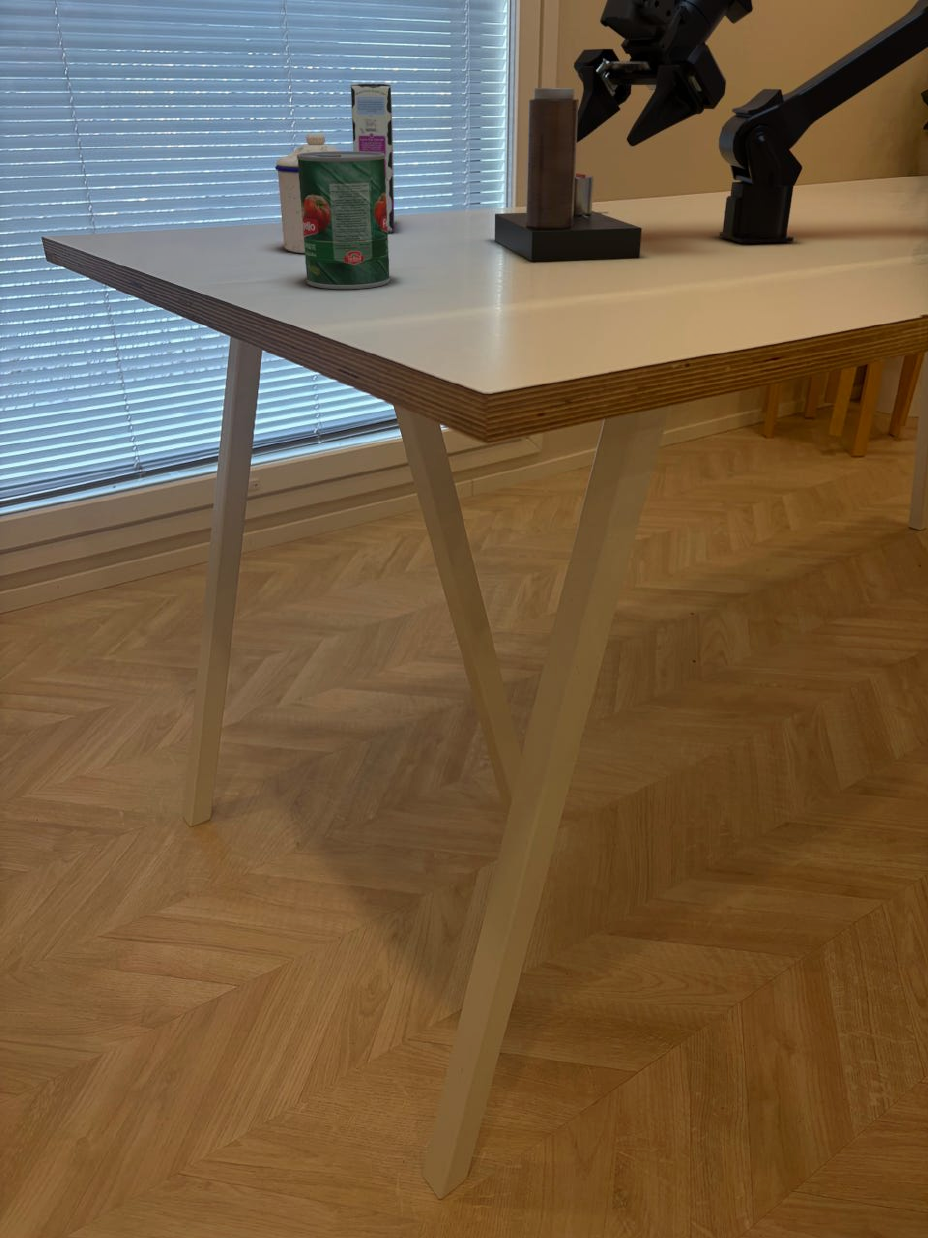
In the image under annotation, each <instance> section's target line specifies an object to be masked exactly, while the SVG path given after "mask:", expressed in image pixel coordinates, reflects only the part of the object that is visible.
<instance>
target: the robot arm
mask: <svg viewBox="0 0 928 1238" xmlns="http://www.w3.org/2000/svg"><path fill="white" fill-rule="evenodd" d="M753 10H754V7H753V1H752V0H606V3H605V5H604V7H603V11H602V14H601V16H600V19H599V23H600V25H602V26H603V27H605V28H609V29H611V30H612V31H613V32H615V33H616V34H617V35H619V36H620V37H621V38H623V39H624V40H623V41H622V43H620V47H621V48H622V50H623V52H624V53H625V55H629V57H630V58H629V60H620V59H619V57H618V56H617V54H616V52H615V50H614V49H613V48H591V49H589V48H588V49H583V50H582V52H580V54H579V56H578V57H577V58H576V60H575V61H574V63H573V68H574V70H575V72H576V73H577V76H578V78H579V80H580V81H581V83H582V88H583V91H582V95H581V100H580V103H579V105H578V124H577V144H578V143H579V142H581V141H582V140H584V139H585V138H587V137H588V136H589V135H590V134H592V133H593V132H594V131H596V130H597V129H598V128H599V127H601V126H602V125H603V124H604V123H606V122H607V121H609V120H610V119H611V118H612V117H613V116H615V115H616V114H618V113H619V112H620V111H621V108H620V107H621V105H622V104H624V103H626V101H627V100H628V99H629V97H630V96H631V95H632V88H633V87H632V86H646V88H647V89H649V90H650V91H653V93H652V94H651V96H650V98H649V99H648V101H647V102H646V104H645V106H644V108H643V109H642V111H641V112H640V114H639V115H638V117H637V119H636V120H635V122H634V123H633V125H632V127H631V128H630V131H629V132H628V135H627V137H626V141H627V143H628V145H629V146H630V147H635V146H638V145H639V144H641V143H643V142H645V141H646V140H649V139H650V138H652V137H654V136H656V135H658V134H660V133H661V132H664V131H665V130H667V129H669V128H671V127H672V126H675V125H677V124H679V123H682V122H683V121H685V120H687V119H690V118H691V117H693V116H696V115H701V114H702V113H703V112H704V111H705V110H715V109H716V107H717V106H718V105H719V103H720V102H721V100H722V99H723V98H724V96H725V94H726V89H727V88H726V87H727V79H726V77H725V76H724V73H723V72H722V70H721V68H720V66H719V64H718V62H717V60H716V59H715V56H714V55H713V53H712V51H711V48H710V47H709V45H708V44H706V43H707V41H708V40H709V38H711V36H712V35H713V33H714V31H716V29H717V27H718V26H719V25H720V23H721V22H722V20H723V19H725V17H726V19H728V21H729V22H730V23H731V24H734V25H735V24H737V23H738V22H739V21H741V20H742V19H744V18H745V17H746V16H748V15H749V14H750V13H752V12H753ZM927 48H928V0H917V1H916V2H915V4H914V5H913V6H912V7H911V8H910V10H909V11H908V12H907V13H906V14H904V15H903V16H901V17H900V18H899V19H897V20H895V21H894V22H893V23H891V24H890V25H888V26H887V27H885V28H884V29H882V30H880V32H878V33H876V34H874V36H872V37H871V38H869V39H867V40H866V41H864V42H863V43H861V44H860V45H858V46H857V47H856V48H854V49H853V50H851V51H850V52H848V53H847V54H845V55H844V56H842V57H841V58H839V59H838V60H836V61H835V62H833V63H832V64H830V65H829V66H827V67H826V68H824V69H823V70H821V71H820V72H818V73H817V74H815V75H814V76H812V77H810V78H809V79H807V80H806V81H805V82H803V83H802V84H800V85H799V86H797V87H796V88H794V89H793V90H791V91H788V92H786V93H783V90H782V89H781V88H763V89H762V90H760V91H759V92H757V93H756V95H755V96H753V97H752V98H751V99H750V100H749V101H748V102H747V103H745V104H743V105H742V106H738V107H734V108H732V109H731V112H732V113H733V114H734V115H732V116H731V117H730V118H729V119H727V121H725V123H724V124H723V125H722V127H721V131H720V133H719V138H718V149H719V153H720V155H721V157H722V158H723V160H724V162H725V163H727V164H729V166H730V171H731V176H732V179H733V180H734V181H732V182H731V187H730V195H728V196H726V199H725V205H724V206H725V207H724V217H723V225H722V231H720V232H719V237H720V238H724V239H726V240H727V239H728V240H730V241H734V242H737V243H740V244H762V243H764V244H765V243H789V242H791V243H792V242H794V236H789V235H788V228H789V220H790V215H791V208H792V201H793V194H794V186H796V183H797V181H798V179H799V176H800V175H801V173H802V170H803V165H802V164H801V163H800V161H799V160H798V159H797V158H796V156H795V155H794V154H793V152H791V149H792V148H793V147H794V146H795V145H796V144H797V143H798V141H799V140H800V139H801V138H802V137H803V136H804V134H805V133H806V132H807V131H808V129H809V128H810V127H811V126H812V125H813V124H814V123H816V122H817V121H818V120H820V119H821V118H823V117H824V116H827V114H829V113H830V112H832V111H834V110H835V109H837V108H838V107H840V106H841V105H843V104H844V103H846V102H848V101H849V100H850V99H852V98H853V97H855V96H856V95H858V94H859V93H861V92H862V91H864V90H865V89H867V88H868V87H870V86H871V85H872V84H874V83H876V82H877V81H879V80H880V79H882V78H883V77H885V76H887V75H888V74H889V73H891V72H893V71H894V70H896V69H897V68H898V67H900V66H902V65H904V64H905V63H906V62H908V61H909V60H911V59H912V58H914V57H915V56H918V55H919V54H920V53H921V52H923V51H924V50H926V49H927Z"/></svg>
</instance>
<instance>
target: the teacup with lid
mask: <svg viewBox="0 0 928 1238" xmlns="http://www.w3.org/2000/svg"><path fill="white" fill-rule="evenodd" d="M305 142H306V144H303V145H300V146H298V147H297V148H296V149H294V150H293V151H292V152H291V153H289V154H288V155H286V156H283V157H281V158H278V159H277V161H276V163H275V164H276V165H275V167H274V168H275V170H276V171H277V177H278V178H277V179H278V188H279V189H278V191H279V201H280V213H281V223H282V238H283V247H284V249H286V250H287V251H289V252H292V253H297V254H305V247H304V236H303V225H302V224H303V221H302V209H301V198H300V188H299V187H300V183H299V171H298V159H297V154H300V153H308V152H327V151H340V150H339V149H338V148H337V147H335V146H333V145H331V144H325V143H326V137H325V135H324V133H323V134H322V133H309V134H307V135H306V137H305Z"/></svg>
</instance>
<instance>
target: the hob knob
mask: <svg viewBox="0 0 928 1238" xmlns="http://www.w3.org/2000/svg"><path fill="white" fill-rule="evenodd" d="M594 182H595V177H594V175H591V174H590V175H589V174H585V173H581V172H579V173H576V172H575V189H574V211H573V216H582V215H590V214H592V211H593V198H594Z"/></svg>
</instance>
